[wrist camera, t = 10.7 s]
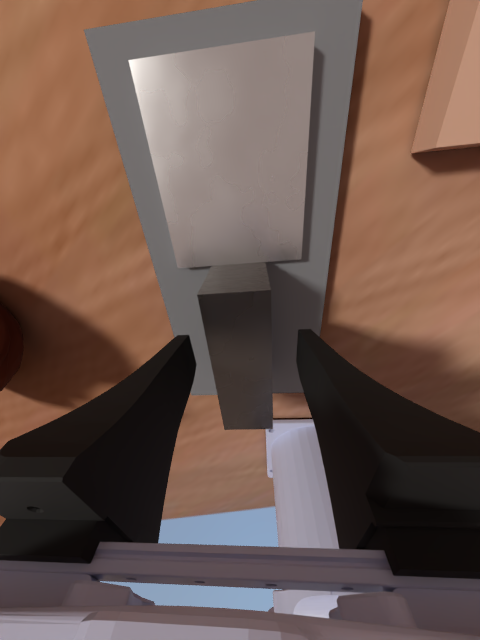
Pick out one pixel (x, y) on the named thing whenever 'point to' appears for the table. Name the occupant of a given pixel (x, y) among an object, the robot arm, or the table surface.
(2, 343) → the gavel
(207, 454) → the table surface
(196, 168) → the turner
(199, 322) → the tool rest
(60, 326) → the table surface
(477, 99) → the block
